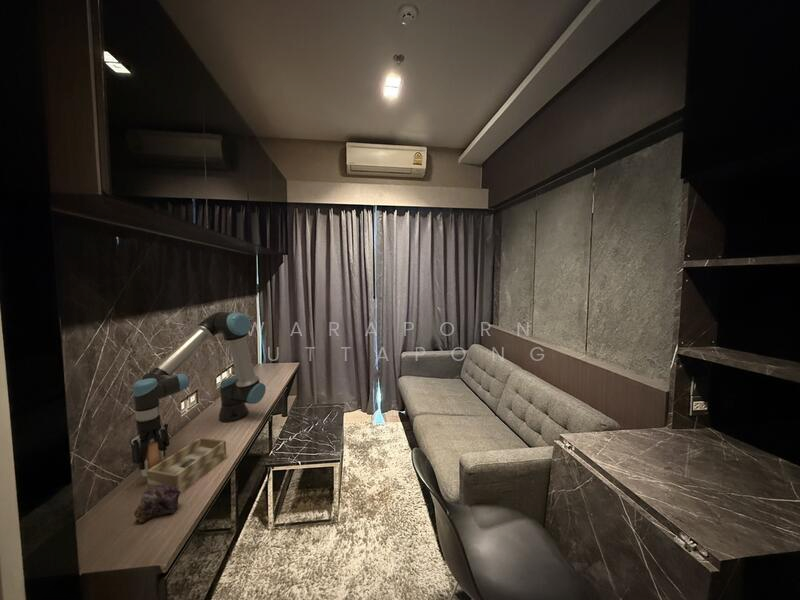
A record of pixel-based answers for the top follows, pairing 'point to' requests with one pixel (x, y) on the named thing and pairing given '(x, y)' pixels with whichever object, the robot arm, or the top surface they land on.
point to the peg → (152, 454)
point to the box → (188, 464)
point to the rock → (157, 502)
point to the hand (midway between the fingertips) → (153, 470)
